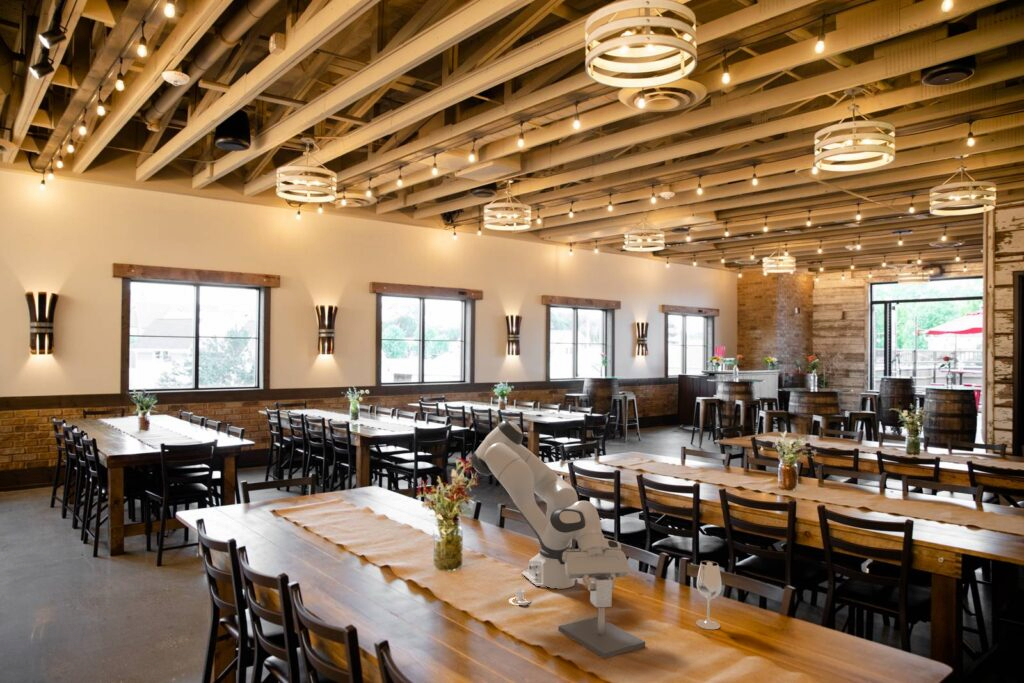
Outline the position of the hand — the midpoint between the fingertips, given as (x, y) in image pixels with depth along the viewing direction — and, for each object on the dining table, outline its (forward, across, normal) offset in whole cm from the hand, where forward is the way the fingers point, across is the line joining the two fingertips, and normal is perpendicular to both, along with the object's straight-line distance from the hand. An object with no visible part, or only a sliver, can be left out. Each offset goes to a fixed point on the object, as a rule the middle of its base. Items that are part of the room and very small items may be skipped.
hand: (601, 589), depth 205 cm
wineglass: (+6, +39, +15) cm, 42 cm away
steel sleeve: (+3, 0, +4) cm, 4 cm away
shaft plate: (+10, 0, +11) cm, 15 cm away
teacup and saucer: (-12, -20, +34) cm, 41 cm away
